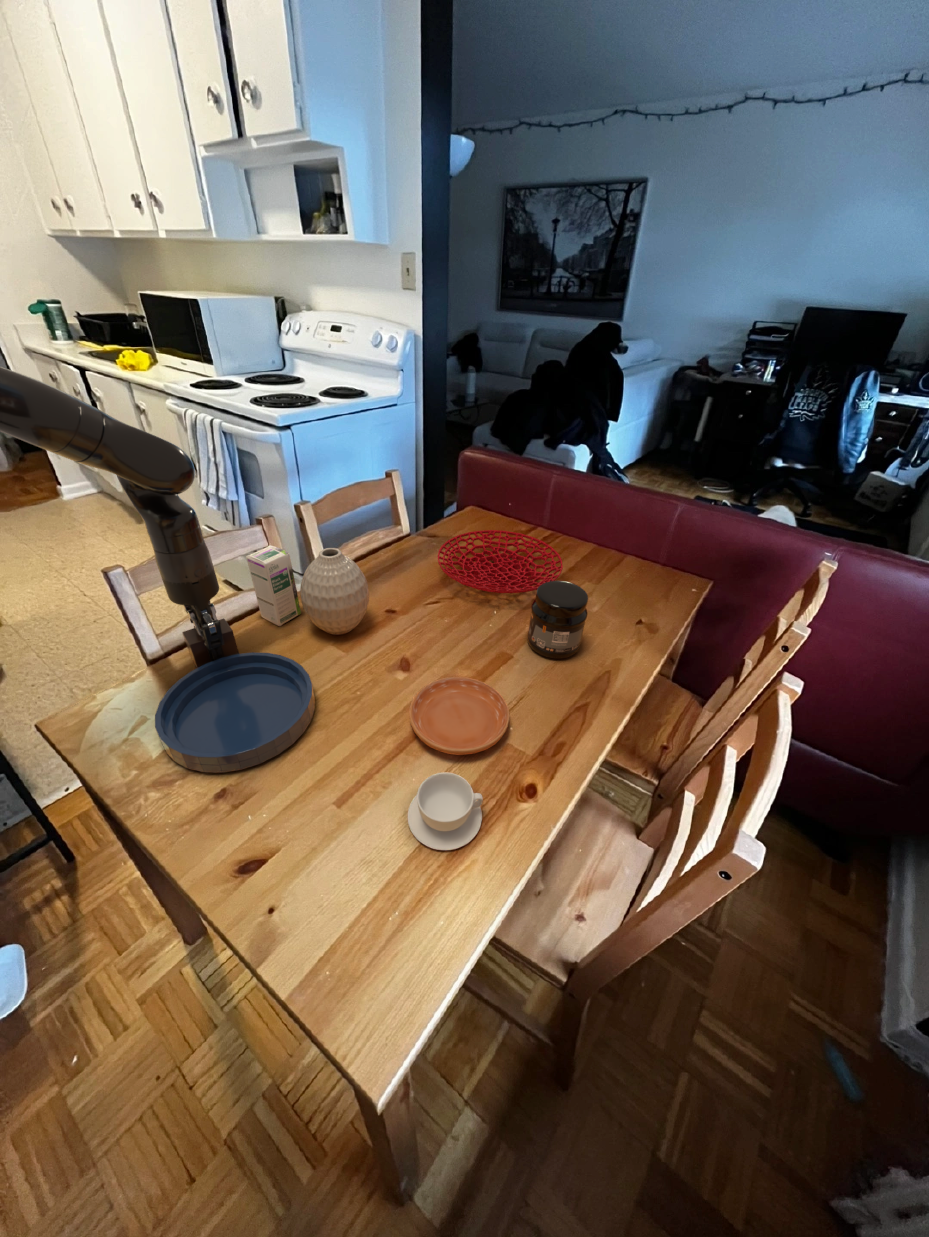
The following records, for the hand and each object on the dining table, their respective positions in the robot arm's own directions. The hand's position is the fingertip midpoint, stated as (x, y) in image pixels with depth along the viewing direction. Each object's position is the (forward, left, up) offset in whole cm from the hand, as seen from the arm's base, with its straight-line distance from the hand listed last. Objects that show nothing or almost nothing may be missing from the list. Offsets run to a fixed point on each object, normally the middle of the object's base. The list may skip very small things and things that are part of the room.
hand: (213, 652), depth 88 cm
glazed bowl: (-1, -15, -3) cm, 16 cm away
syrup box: (+15, +8, -3) cm, 17 cm away
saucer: (+26, -37, -3) cm, 46 cm away
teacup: (+14, -49, -3) cm, 52 cm away
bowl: (+63, -6, -3) cm, 63 cm away
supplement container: (+54, -32, -3) cm, 63 cm away
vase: (+23, -2, -3) cm, 23 cm away
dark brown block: (0, 0, -1) cm, 1 cm away
